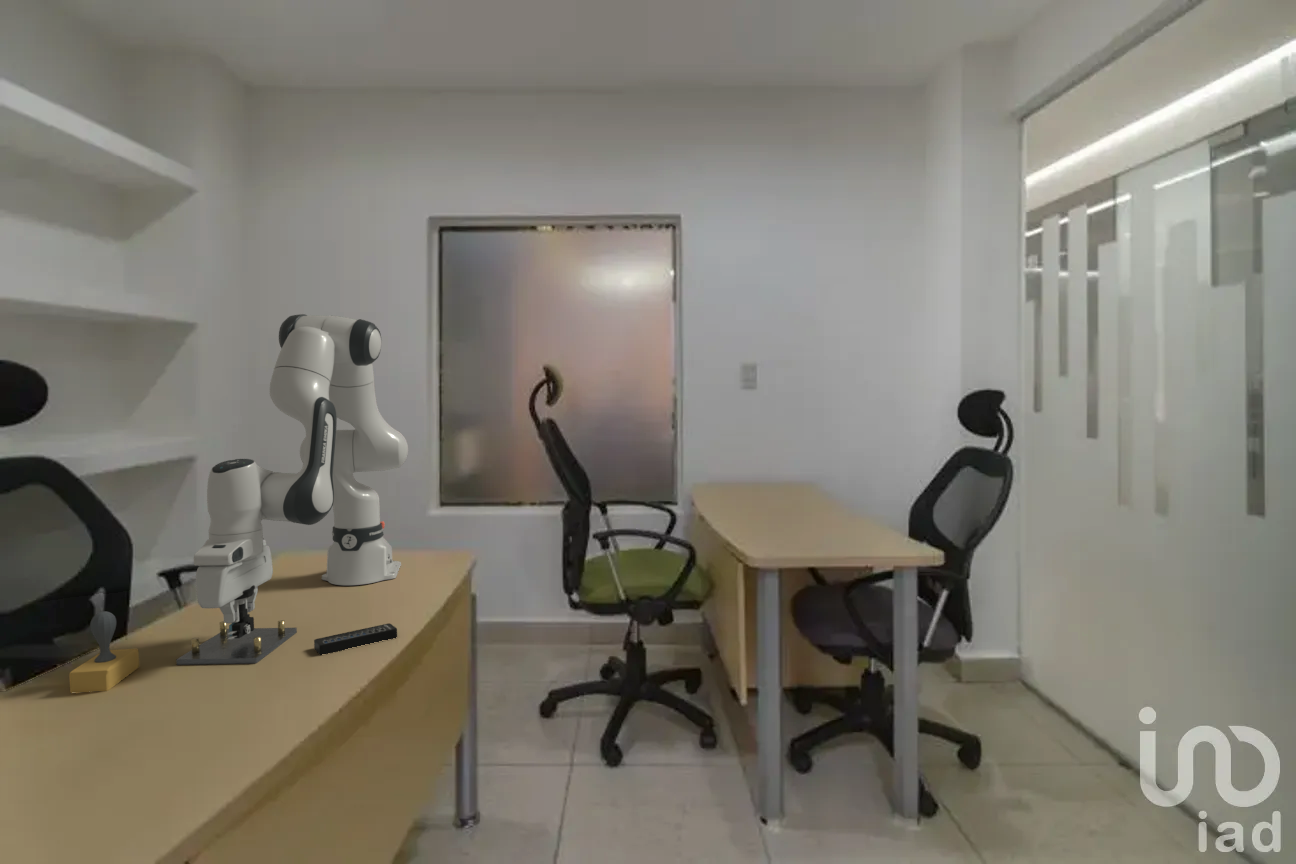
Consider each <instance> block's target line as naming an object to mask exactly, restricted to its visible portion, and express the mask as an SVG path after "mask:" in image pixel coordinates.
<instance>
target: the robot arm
mask: <svg viewBox="0 0 1296 864" xmlns="http://www.w3.org/2000/svg"><path fill="white" fill-rule="evenodd" d="M278 330H279V331H278V342H279V346H280V350H279V351H280V352H279V354H278V357H277V358H276V361H275V365H274V368H273V371H272V372H273V373H272V375H271V379H270V383H269V397H270V399H271V401H272V403H273V404H274V405H275V407H276V408H277V409H278V410H279V411H281V412H282V413H283V414H285V415H287V416H289V417H290V418H292V419H294V420H295V421H299V422H300V423H301V424H302V426H303V427H304V430H305V437H304V438H303V440H302V442H301V443H300V448H299V457H300V461H301V463H302V468H300V470H299V472H296V473H294V472H293V473H292V472H289V473H288V472H275V471H273V470H268V469H267V468H263V467H262V466H260V465H258V464H257V462H256V461H255V460H254V459H250V458H236V459H235V458H234V459H229V460H224V461H222V462H219V463H217V464H215V465H214V466H213V467H211V469H210V471H209V475H208V478H207V486H206V487H207V489H206V501H207V503H206V504H207V512H208V515H209V518H210V524H209V528H208V539H207V540H206V541H205V543H204V544H203V545H202V546H201V547H200V548H199V549H198V551H196V552H195V553H194V555H193V565H194V566H198V567H197V570H196V573H195V589H196V590H195V591H196V599H197V600H196V602H197V603H198V605H199V607H200V608H201V609H219V610H220V611H221V613H222V616H223V621H224V623H227V624H232V623H233V622H235V621H236V620H237V619H238V617H237V612H235V611H234V608H233V605H234V599H236V598H238V597H240V596H241V595H243V594H244V593H243V591H244V590H247V589H250V588H251V586H253V585H254V586H255V589H254V594H253V595H252V596H250V598H248V599H247V608H248V613H251V612H252V611H253V610H255V609H256V608H255V607H256V604H255V601H256V598H257V595H258V591H259V590H258V587H259V586H261V585H263V584H264V583H266V582H269V581H270V580H271V579H272V578H273V573H274V569H273V558H272V552H271V548H270V546H269V545H268V544H267V540H266V539H265V538H264V533H263V531H264V530H263V528H264V527H263V523H262V521H263V520H264V521H265V520H266V521H272V522H289V523H290V522H291V523H294V524H295V523H296V524H300V525H305V526H312V525H315V524H317V523H319V522H321V521H322V520H323V519H325V517H326V516H327V515H328V514H329V513H330V511H331V509H332V510H333V526H332V531H331V535H332V541H333V543H332V544H331V545H330V546H329V547H328V548H327V559H326V573H324V574H322V575H321V580H323V581H327V582H328V583H329V584H332V585H336V586H359V585H360V586H361V585H367V584H372V583H377V582H381V581H386V580H393V579H396V578H397V576H398V574H399V572H400V569H399V568H401V567H402V562H401V561H398V560H393V548H392V545H391V544H390V543H389V542H388V541H387V540H386V539H385V537H384V529H385V525H386V523H385V521H381V511H380V510H381V509H380V508H381V507H380V505H381V504H380V503H381V501H380V496H379V493H378V492H377V491H376V490H375V489H374V488H371V487H370V486H368V485H365V484H362V483H361V482H359V481H357V480H356V478H355V476H354V473H361V472H363V473H366V472H369V473H370V472H383V471H388V470H389V471H390V470H395V469H397V468H401V467H403V465H404V463H405V462H406V460H407V458H408V455H409V444H408V441H407V439H406V437H405V436H404V435H403V434H402V433H401V432H400V431H398V430H397V429H396V428H394V427H392V425H390V424H389V423H388V422H387V420H385V418H384V417H383V415H382V414H381V412H380V410H379V407H378V402H377V396H376V389H375V388H376V386H375V372H374V366H373V363H374V362H375V361H376V360H378V358H379V356H380V354H381V350H382V341H383V340H382V334H381V331H380V329H379V328H378V326H376V324H375V323H374V322H371V321H368V320H365V319H362V318H361V319H355V318H351V317H346V316H337V315H311V314H310V315H307V314H306V313H305V314H303V313H302V314H301V313H300V314H293V315H290V316H288V317H287V318H286V319H285V320H284V321H283V322H282V323H281V325H280V327H279V329H278ZM337 419H339V420H342V421H344V422H346V423H348V424H349V425H351V426H352V427H353V428H354V429H337V426H338V425H337V421H338V420H337ZM400 566H401V567H400ZM398 571H399V572H398ZM249 586H250V587H249ZM247 587H248V588H247Z"/></svg>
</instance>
